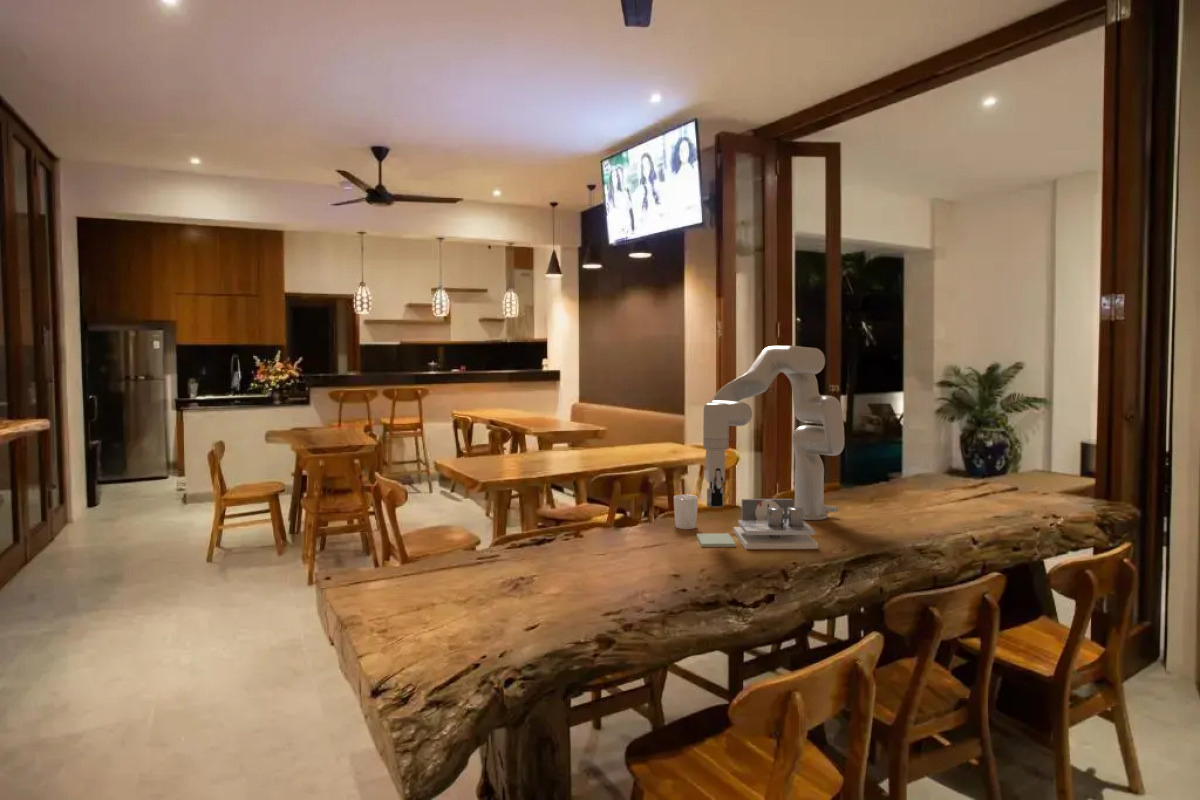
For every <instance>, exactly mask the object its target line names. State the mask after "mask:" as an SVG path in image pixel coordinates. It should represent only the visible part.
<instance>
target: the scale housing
mask: <svg viewBox="0 0 1200 800" xmlns="http://www.w3.org/2000/svg"><path fill="white" fill-rule="evenodd" d="M769 507H780V508H784V520H787V508H788V507H794V499H792V498H741V515H740V516H741V518H740V520H767V508H769ZM732 530H733V533H734V534H735V536H736V537H737V539H738V541H739V542H740V543H741V545H742V546H743V547H744V549H745V550H812V549H813V550H815V549H817V550H818V549H819V542H817V541H816V540H814V538H813V537H811V535H746V534H745V532H744V531H743V530H742V528H741V527H740V526H733V527H732Z"/></svg>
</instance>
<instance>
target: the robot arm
mask: <svg viewBox="0 0 1200 800" xmlns="http://www.w3.org/2000/svg"><path fill="white" fill-rule="evenodd" d="M825 357H826V356H825V355H824V352H823V351H822V350H821V349H819V348H817V347H807V346H799V345H769V346H767V347H764V349H762V350H761V352H760V353H759V354H758V355H757V357H756V358H755V360H754V361H753V363H752V364H751V365H750V366H749V368H748V369H747V370H746V372H745V373H744V374H743V375H741V376H738V377H737V378H735V379H732V381H730V382H728V383H727V384H725V385H723V386H722V387H721V388H720V389H719V390H718V391H717V392H715V394H714V396H713V397H712V398H711V400H710V401H709V402H707V403H706V404H704V406H703V423H702V424H703V428H702V429H703V434H702V436H703V437H702V439H703V440H702V441H703V442H702V445H703V446H702V447H703V448H702V449H703V450H705V457H704V458H705V461H704V479H705V480H706V482H707V483H708V484H709V485H708V488H712V493H711V505H712V506H722V489H723V484H724V482H725V478H726V451H728V450H729V444H730V443H729V439H730V435H729V433H730V432H729V430H730V426H731V427H743V426H745V425H747V424H749V423H750V421H752V417H753V410H752V407H750V405H749V404H747V403H746V402H743V400H744V399H748V398H752V397H755V396H759V395H761V394H763V393H765V392H766V391H767V390H768V389H769V387H770V386H771V385H772V383H773V381H774V380H775V379H776V378H777V376H778V375H779V374H780V373H783V374H784V375H785V376H786V378H788V380H789V382H790V385H791V393H792V401H793V409H794V415H795V419H797V420H798V421H800V422H801V423H802V422H803V423H809V424H810V425H809V424H808V425H807V424H805V425H804V424H803V425H800V426H798V427H796V429H794V431H793V433H792V439H791V440H792V445H793V452H794V466H795V467H794V470H795V471H794V507H800V508H804V521H821V520H822V521H823V520H827V519H828V518H829V515H828V513H829V512H831V513H833V512H834V513H835V512H836V513H837V512H838V510H839V509H838V506H837V505H829V504H828V505H827V504H825V503H824V484H825V483H824V482H825V481H824V476H825V466H824V462H823V460H822V458H821V455H822V456H823V455H824V456H830V457H831V456H832V457H835V456H839V455H840V454H841V453H842V452H843V450H844V448H845V439H846V438H845V428H844V414H843V407H842V404H841V402H840V401H839V400H838V398H837V397H835V396H832V395H826V394H825V395H823V394H822V395H821V394H820V392H819V384H818V379H817V377H816V375H818V374H819V373H820V372H822V370H823V369H824V368H825V364H826V358H825ZM811 424H820V425H811ZM821 424H822V426H821Z"/></svg>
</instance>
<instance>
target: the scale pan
mask: <svg viewBox="0 0 1200 800" xmlns="http://www.w3.org/2000/svg"><path fill="white" fill-rule="evenodd" d="M737 524H738V527H741V528H742V530H743V531H744V532H745V534H746V535H809V536H813V535H816V530H815V529H814V528H813V527H812V526H810V525H809V524H808V523H807V522H806V520H804V526H802V527H791V526H788V525H787V520H784V526H783V527H771V526H768V525H767V520H741V519H738V521H737Z"/></svg>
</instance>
